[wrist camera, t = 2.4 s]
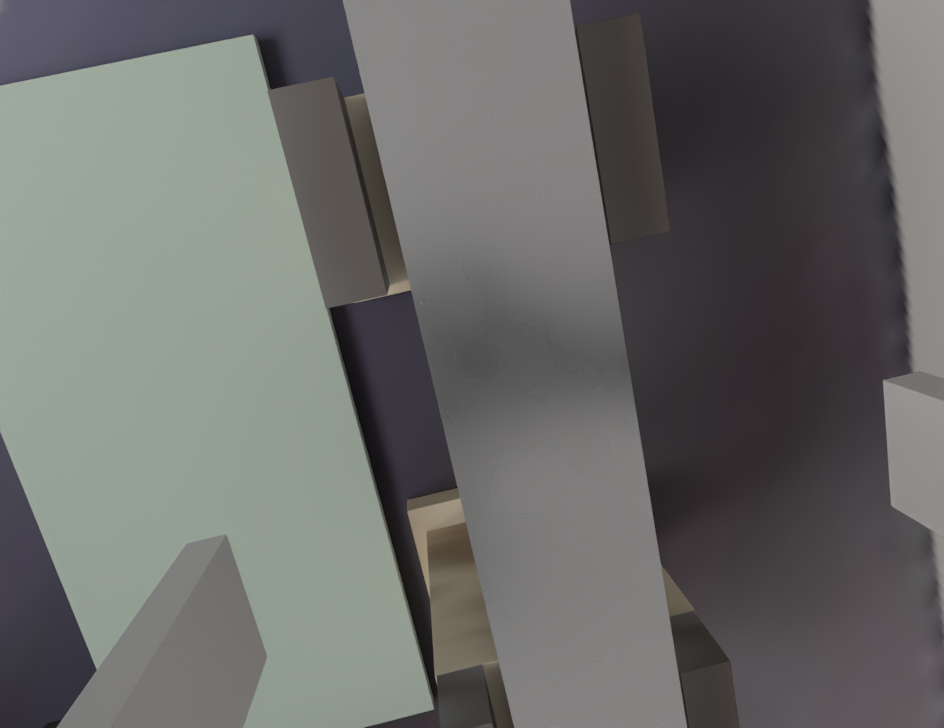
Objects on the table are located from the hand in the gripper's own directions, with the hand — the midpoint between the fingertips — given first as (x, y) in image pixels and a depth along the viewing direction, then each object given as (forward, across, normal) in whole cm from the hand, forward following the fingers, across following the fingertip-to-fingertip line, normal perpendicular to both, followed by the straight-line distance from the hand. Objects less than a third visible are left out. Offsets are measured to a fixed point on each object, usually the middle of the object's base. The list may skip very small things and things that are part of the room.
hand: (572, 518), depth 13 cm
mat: (+12, +11, 0) cm, 16 cm away
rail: (+3, 0, 0) cm, 3 cm away
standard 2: (+12, 0, -7) cm, 14 cm away
